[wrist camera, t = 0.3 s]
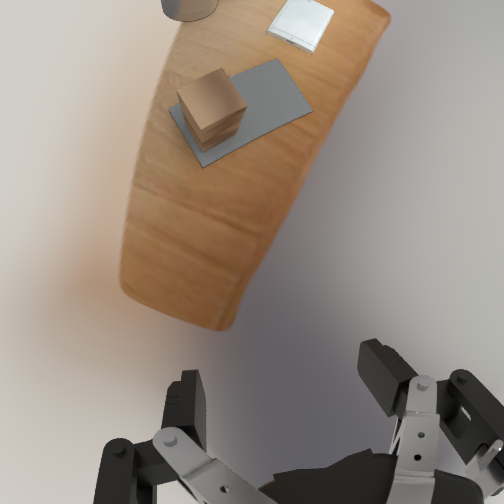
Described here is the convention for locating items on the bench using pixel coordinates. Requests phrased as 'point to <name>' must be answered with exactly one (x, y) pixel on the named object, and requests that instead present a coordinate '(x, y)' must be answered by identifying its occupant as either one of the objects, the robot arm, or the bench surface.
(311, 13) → the hard drive
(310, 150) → the bench surface
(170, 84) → the bench surface
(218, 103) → the light brown wooden block
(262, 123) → the rubber mat
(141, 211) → the bench surface
